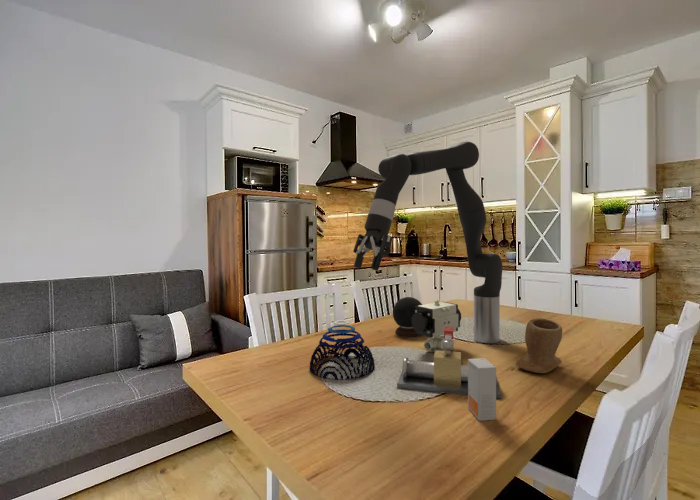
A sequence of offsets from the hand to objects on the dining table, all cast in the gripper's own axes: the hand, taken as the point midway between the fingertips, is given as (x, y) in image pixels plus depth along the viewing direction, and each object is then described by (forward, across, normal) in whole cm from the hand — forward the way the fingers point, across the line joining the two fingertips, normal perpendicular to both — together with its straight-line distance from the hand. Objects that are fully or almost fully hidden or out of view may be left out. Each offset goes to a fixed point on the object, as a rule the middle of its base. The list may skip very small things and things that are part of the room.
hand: (365, 268), depth 107 cm
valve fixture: (+24, -19, -24) cm, 39 cm away
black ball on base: (+15, +25, -48) cm, 57 cm away
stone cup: (+13, -28, -54) cm, 62 cm away
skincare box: (+27, -35, -18) cm, 47 cm away
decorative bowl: (+31, +9, -9) cm, 33 cm away
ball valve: (+18, +2, -42) cm, 46 cm away
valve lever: (+13, -15, -25) cm, 32 cm away
